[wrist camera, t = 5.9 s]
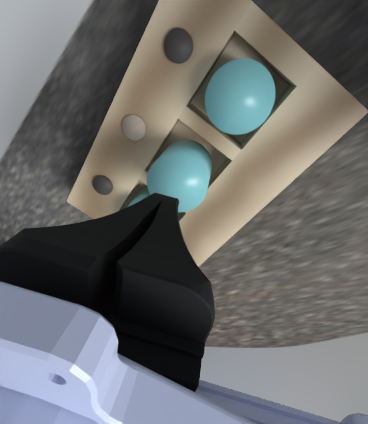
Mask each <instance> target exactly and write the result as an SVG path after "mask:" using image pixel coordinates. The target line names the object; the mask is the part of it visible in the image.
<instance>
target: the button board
mask: <svg viewBox="0 0 368 424" xmlns="http://www.w3.org/2000/svg"><path fill="white" fill-rule="evenodd" d="M236 59H252V60H255V61H257V62H259V63H261V64H262V65H263V66H265V68H266V69H267V70H268V71H269V72H270V74H271V76H272V78H273V81H274V84H275V101H274V105H273V108H272V110H271V112H270V114H269V116H268V117H267V119H266V120H265V121H264V122H263V123H262V124H261V125H260V126H259V127H258V128H256V129H254V130H253V131H251V132H248V133H245V134H238V135H235V134H228V133H225V132H223V131H221V130H220V129H218V128H217V127H216V126H215V125H214V124H213V123H212V122H211V120H210V119H209V117H208V114H207V111H206V107H205V94H206V89H207V86H208V84H209V81H210V80H211V78H212V76H213V75H214V74H215V72H216V71H217V70H218V69H219V68H220V67H222V66H223V65H224V64H226V63H228V62H230V61H233V60H236ZM367 113H368V110H367V109H366V108H365V107H364V106H363V105H362V104H361V103H360V102H359V101H358V100H356V99H355V98H354V97H353V96H352V95H351V94H350V93H349V92H348V91H347V90H346V89H345V88H344V87H343V86H342V85H341V84H339V83H338V82H337V81H336V80H335V79H334V78H333V77H332V76H331V75H330V74H329V73H328V72H327V71H326V70H325V69H324V68H323V67H321V66H320V65H319V64H318V63H317V62H316V61H315V60H314V59H313V58H312V57H311V56H310V55H309V54H308V53H307V52H306V51H305V50H303V49H302V48H301V47H300V46H299V45H298V44H297V43H296V42H295V41H294V40H293V39H292V38H291V37H290V36H289V35H288V34H286V33H285V32H284V31H283V30H282V29H281V28H280V27H279V26H278V25H277V24H276V23H275V22H274V21H273V20H272V19H271V18H270V17H268V16H267V15H266V14H265V13H264V12H263V11H262V10H261V9H260V8H259V7H258V6H257V5H256V4H255V3H254V2H253V1H252V0H159V1H158V4H157V6H156V8H155V10H154V12H153V15H152V17H151V19H150V21H149V23H148V25H147V28H146V30H145V32H144V34H143V36H142V38H141V41H140V43H139V45H138V47H137V49H136V52H135V54H134V56H133V58H132V60H131V62H130V65H129V67H128V69H127V71H126V73H125V76H124V78H123V80H122V82H121V84H120V86H119V89H118V91H117V93H116V95H115V97H114V99H113V102H112V104H111V106H110V108H109V110H108V113H107V115H106V117H105V119H104V121H103V123H102V126H101V128H100V130H99V132H98V134H97V136H96V139H95V141H94V143H93V145H92V147H91V150H90V152H89V154H88V156H87V158H86V160H85V163H84V165H83V167H82V169H81V171H80V173H79V176H78V178H77V180H76V182H75V184H74V187H73V189H72V191H71V193H70V195H69V197H68V200H67V202H68V203H70V204H71V205H73V206H74V207H76V208H78V209H79V210H81V211H82V212H84V213H85V214H87V215H88V216H90V217H92V218H93V219H97V218H100V217H104V216H107V215H110V214H112V213H115V212H118V211H120V210H122V209H124V208H127V207H128V205H129V204H130V203H131V202H132V200H133V199H134V198H135V196H136V195H137V194H138V193H139V191H140V190H142V189H143V188H145V187H147V174H148V171H149V169H150V167H151V166H152V165H153V163H154V162H155V161H156V160H157V159H158V158H159V157H160V155H161V154H162V153H163V152H164V151H165V150H166V149H167V147H168V146H169V145H171V144H172V143H174V142H175V141H178V140H182V139H189V140H193V141H196V142H198V143H200V144H201V145H203V146H204V147H205V148H206V149H207V151H208V152H209V154H210V157H211V160H212V170H211V175H210V180H209V184H208V189H207V194H206V196H205V198H204V200H203V201H202V203H201V204H200V205H199V206H198V207H196V208H195V209H193V210H190V211H187V212H178V216H179V223H180V228H181V232H182V235H183V238H184V241H185V243H186V246H187V248H188V250H189V252H190V254H191V256H192V257H193V259H194V261H195V263H196V264H197V266H198V267H199V266H200V265H201V264H202V263H203V262H204V261H205V260H206V259H207V258H208V257H210V256H211V255H212V254H213V253H214V252H215V251H216V250H217V249H218V248H219V247H221V246H222V245H223V244H224V243H225V242H226V241H227V240H228V239H229V238H230V237H232V236H233V235H234V234H235V233H236V232H237V231H238V230H239V229H240V228H242V227H243V226H244V225H245V224H246V223H247V222H248V221H249V220H250V219H251V218H253V217H254V216H255V215H256V214H257V213H258V212H259V211H260V210H261V209H262V208H264V207H265V206H266V205H267V204H268V203H269V202H270V201H271V200H272V199H273V198H275V197H276V196H277V195H278V194H279V193H280V192H281V191H282V190H283V189H284V188H286V187H287V186H288V185H289V184H290V183H291V182H292V181H293V180H294V179H295V178H297V177H298V176H299V175H300V174H301V173H302V172H303V171H304V170H305V169H306V168H308V167H309V166H310V165H311V164H312V163H313V162H314V161H315V160H316V159H317V158H319V157H320V156H321V155H322V154H323V153H324V152H325V151H326V150H327V149H328V148H330V147H331V146H332V145H333V144H334V143H335V142H336V141H337V140H338V139H340V138H341V137H342V136H343V135H344V134H345V133H346V132H347V131H348V130H349V129H351V128H352V127H353V126H354V125H355V124H356V123H357V122H358V121H359V120H360V119H362V118H363V117H364V116H365V115H366V114H367Z"/></svg>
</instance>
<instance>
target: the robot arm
mask: <svg viewBox="0 0 368 424" xmlns="http://www.w3.org/2000/svg"><path fill="white" fill-rule="evenodd" d="M178 206H179V200H178V198H174V197H170V196H166V195H163V194H159V193H153V194H151V195H149V196H148V197H146V198H144V199H142V200H141V201H139V202H137V203H135V204H133V205H131V206H129V207H127V208H124V209H122V210H120V211H118V212H115V213H112V214H110V215H107V216H104V217H100V218H97V219H93V220H89V221H84V222H80V223H75V224H69V225H62V226H54V227H42V228H27V229H23V230H22V231H20V232H19V233H17V234H16V235H15V236H13V237H12V238H11V239H9V240H8V241H7V242H5V243H4V244H3V245H1V246H0V424H368V415H365V414H351V415H348V416H347V417H345V418H344V419H343V420H342V421H341V422H337V421H334V420H331V419H328V418H324V417H321V416H317V415H314V414H311V413H308V412H304V411H301V410H298V409H294V408H291V407H288V406H284V405H281V404H278V403H274V402H271V401H268V400H265V399H261V398H258V397H255V396H251V395H248V394H245V393H241V392H238V391H235V390H232V389H228V388H225V387H222V386H218V385H215V384H212V383H208V382H205V381H202V380H199V378H200V369H201V359H202V357H203V355H204V347H205V341H206V339H207V337H208V335H209V333H210V331H211V329H212V326H213V323H214V318H215V309H214V299H213V292H212V287H211V283H210V281H209V280H208V279H207V277H206V276H205V275H204V274H203V272H202V271H201V270H200V269H199V267H198V266H197V264H196V263H195V261H194V259H193V257H192V256H191V254H190V252H189V250H188V248H187V246H186V243H185V241H184V238H183V235H182V232H181V228H180V223H179V216H178Z"/></svg>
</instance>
